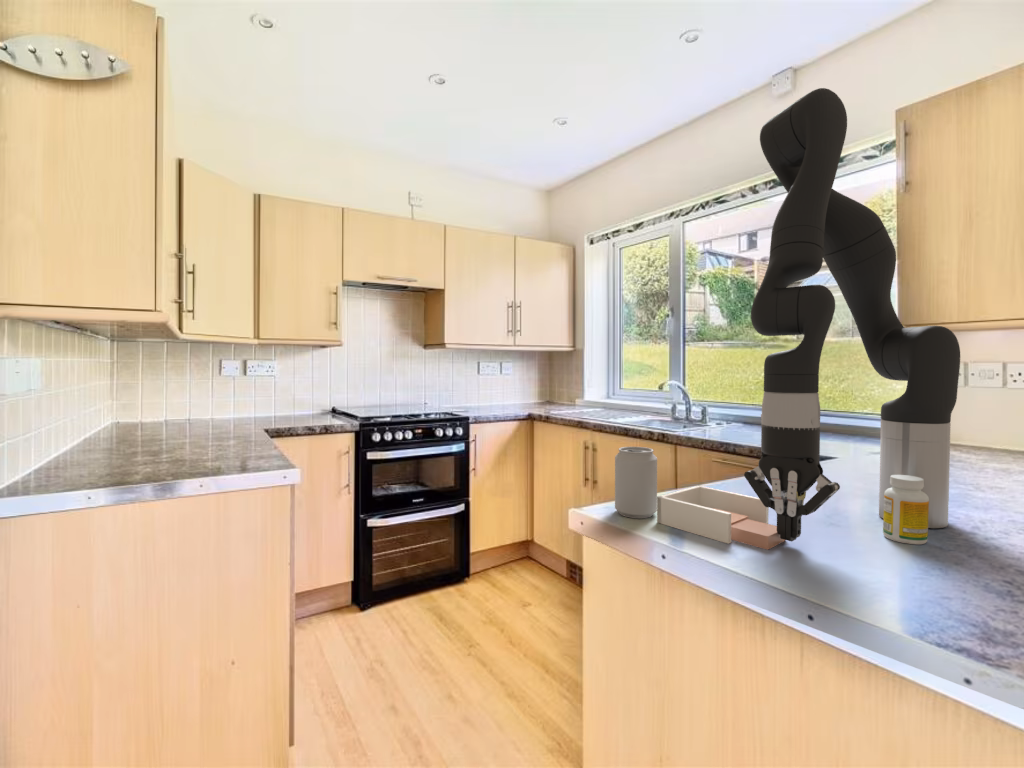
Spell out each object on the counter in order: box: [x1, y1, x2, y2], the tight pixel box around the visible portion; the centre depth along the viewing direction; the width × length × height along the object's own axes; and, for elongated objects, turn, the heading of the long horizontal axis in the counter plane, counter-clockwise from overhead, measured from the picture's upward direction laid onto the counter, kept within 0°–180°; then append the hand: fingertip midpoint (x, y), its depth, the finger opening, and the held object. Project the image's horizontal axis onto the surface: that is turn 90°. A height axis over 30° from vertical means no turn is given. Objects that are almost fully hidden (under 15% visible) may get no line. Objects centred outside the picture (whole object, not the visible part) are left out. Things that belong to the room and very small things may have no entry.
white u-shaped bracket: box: [656, 484, 770, 545], centre depth 82 cm, size 13×13×4 cm
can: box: [614, 446, 658, 519], centre depth 89 cm, size 8×8×12 cm
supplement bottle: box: [882, 475, 929, 545], centre depth 75 cm, size 5×5×10 cm
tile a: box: [713, 508, 749, 525], centre depth 80 cm, size 6×6×2 cm
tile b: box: [731, 519, 786, 551], centre depth 75 cm, size 6×6×2 cm
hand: (788, 538), depth 72 cm, fingers closed
